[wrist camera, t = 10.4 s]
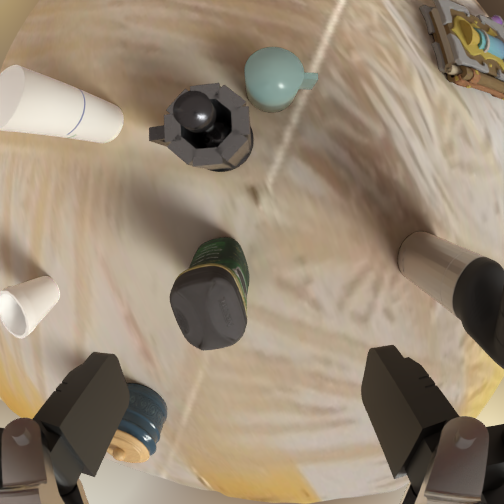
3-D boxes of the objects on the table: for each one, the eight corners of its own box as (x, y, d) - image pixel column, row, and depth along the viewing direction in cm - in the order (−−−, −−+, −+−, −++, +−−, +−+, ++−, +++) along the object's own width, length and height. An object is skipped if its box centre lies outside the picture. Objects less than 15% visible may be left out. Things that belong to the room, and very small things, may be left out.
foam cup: (40, 308, 50) (5, 335, 38) (30, 269, 48) (-9, 290, 35) (70, 311, 50) (35, 341, 37) (59, 268, 48) (19, 291, 35)
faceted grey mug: (251, 109, 41) (250, 77, 26) (255, 169, 43) (255, 165, 29) (176, 116, 41) (142, 91, 27) (179, 175, 44) (144, 175, 29)
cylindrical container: (129, 128, 41) (30, 97, 17) (97, 151, 42) (-10, 143, 18) (115, 96, 40) (20, 52, 16) (84, 119, 41) (-18, 96, 16)
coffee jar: (191, 244, 46) (154, 286, 28) (238, 231, 46) (227, 266, 28) (209, 298, 49) (187, 362, 31) (254, 287, 48) (254, 349, 30)
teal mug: (306, 70, 39) (317, 48, 30) (310, 112, 41) (323, 98, 32) (245, 70, 39) (243, 47, 30) (247, 113, 41) (245, 98, 32)
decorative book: (514, 109, 38) (544, 106, 28) (440, 86, 39) (473, 75, 28) (490, 21, 32) (514, 11, 21) (410, -12, 32) (432, -33, 22)
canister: (118, 412, 57) (93, 463, 40) (113, 375, 54) (80, 428, 37) (168, 426, 58) (151, 482, 40) (169, 390, 54) (147, 452, 37)
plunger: (231, 122, 37) (215, 83, 20) (233, 149, 38) (217, 129, 21) (203, 124, 37) (168, 90, 20) (204, 151, 38) (168, 134, 21)
